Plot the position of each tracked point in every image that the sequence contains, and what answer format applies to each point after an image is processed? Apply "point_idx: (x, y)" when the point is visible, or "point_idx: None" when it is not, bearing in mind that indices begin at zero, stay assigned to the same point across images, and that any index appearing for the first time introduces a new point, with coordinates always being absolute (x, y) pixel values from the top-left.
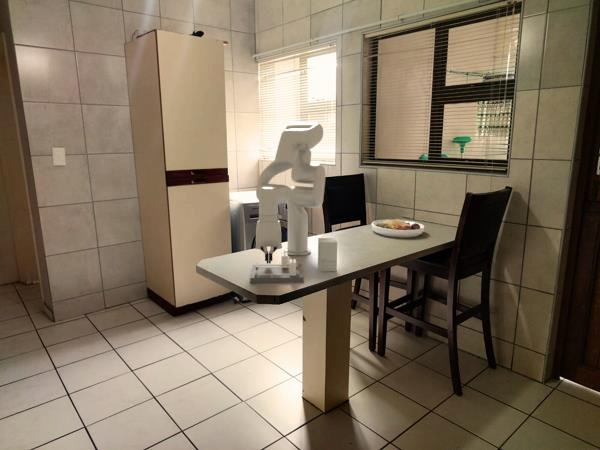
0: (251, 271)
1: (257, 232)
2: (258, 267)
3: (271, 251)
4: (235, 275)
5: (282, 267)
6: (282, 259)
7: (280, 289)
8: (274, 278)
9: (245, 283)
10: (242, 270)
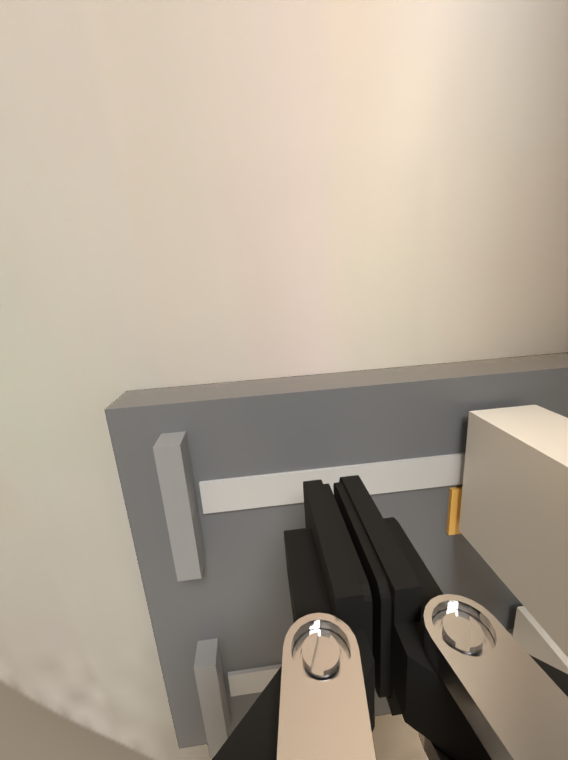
0: (151, 619)
1: None
2: (201, 499)
3: (462, 756)
4: (2, 570)
5: (471, 535)
6: (546, 619)
7: (400, 748)
8: (375, 707)
9: (151, 705)
10: (20, 431)
